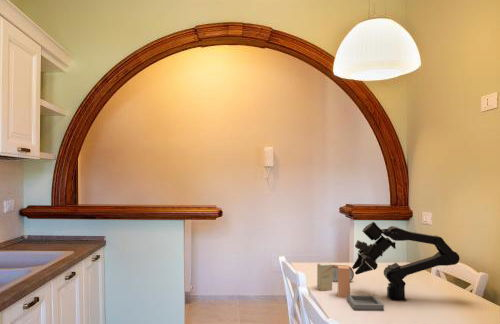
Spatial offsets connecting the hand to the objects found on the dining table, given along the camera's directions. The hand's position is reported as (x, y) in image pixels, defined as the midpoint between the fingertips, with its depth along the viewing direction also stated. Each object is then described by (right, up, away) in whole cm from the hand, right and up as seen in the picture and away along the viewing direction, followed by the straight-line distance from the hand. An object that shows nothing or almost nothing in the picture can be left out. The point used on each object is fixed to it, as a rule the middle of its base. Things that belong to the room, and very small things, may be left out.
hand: (354, 271), depth 162 cm
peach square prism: (-5, -11, 0) cm, 12 cm away
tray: (+1, -11, -12) cm, 16 cm away
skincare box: (-11, -12, +9) cm, 19 cm away
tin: (-1, -13, +22) cm, 25 cm away
